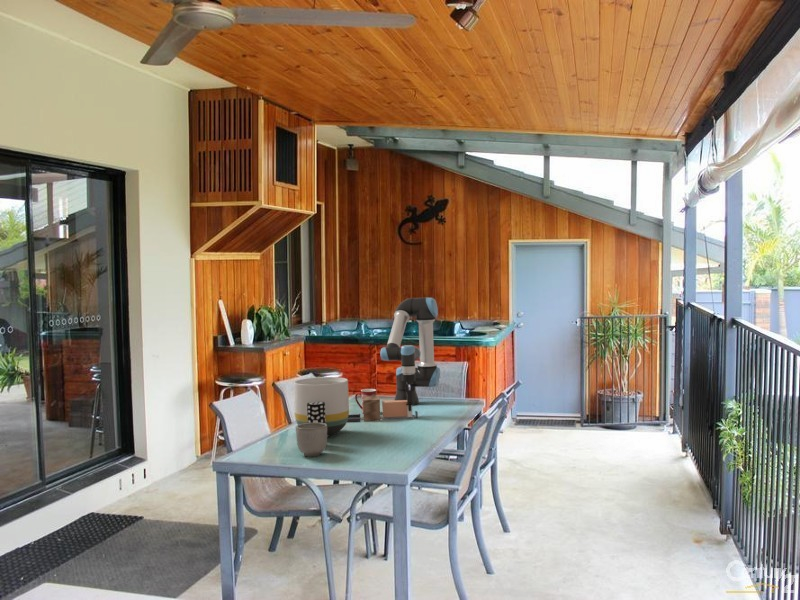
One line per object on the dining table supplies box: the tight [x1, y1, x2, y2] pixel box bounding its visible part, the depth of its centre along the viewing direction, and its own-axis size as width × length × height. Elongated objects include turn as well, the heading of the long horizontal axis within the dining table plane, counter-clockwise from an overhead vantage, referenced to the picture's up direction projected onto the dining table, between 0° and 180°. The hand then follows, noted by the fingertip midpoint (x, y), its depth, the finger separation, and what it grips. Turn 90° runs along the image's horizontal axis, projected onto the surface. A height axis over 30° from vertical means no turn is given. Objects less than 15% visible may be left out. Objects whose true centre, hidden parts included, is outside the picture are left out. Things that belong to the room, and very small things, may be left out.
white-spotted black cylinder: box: [307, 402, 326, 424], centre depth 326 cm, size 8×8×20 cm
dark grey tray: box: [347, 413, 361, 423], centre depth 386 cm, size 9×12×2 cm
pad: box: [381, 418, 414, 421], centre depth 387 cm, size 17×9×1 cm, turn 93°
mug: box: [355, 388, 377, 415], centre depth 403 cm, size 13×9×14 cm
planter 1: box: [293, 376, 350, 437], centre depth 350 cm, size 27×27×27 cm
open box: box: [362, 395, 381, 423], centre depth 386 cm, size 9×12×12 cm
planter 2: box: [295, 423, 328, 458], centre depth 310 cm, size 14×14×13 cm
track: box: [360, 410, 419, 421], centre depth 386 cm, size 31×5×3 cm, turn 93°
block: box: [381, 400, 407, 417], centre depth 387 cm, size 16×6×8 cm, turn 93°
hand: (409, 415), depth 387 cm, fingers closed on block, 5 cm apart
